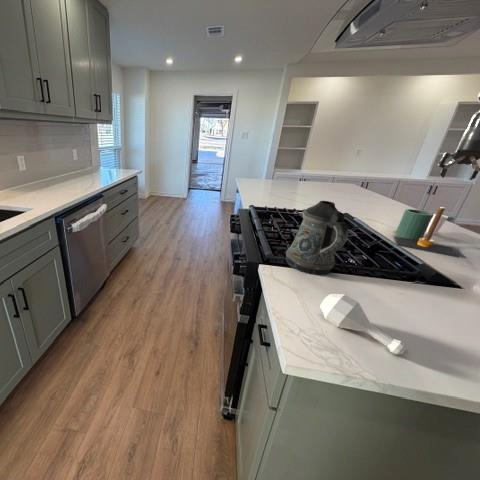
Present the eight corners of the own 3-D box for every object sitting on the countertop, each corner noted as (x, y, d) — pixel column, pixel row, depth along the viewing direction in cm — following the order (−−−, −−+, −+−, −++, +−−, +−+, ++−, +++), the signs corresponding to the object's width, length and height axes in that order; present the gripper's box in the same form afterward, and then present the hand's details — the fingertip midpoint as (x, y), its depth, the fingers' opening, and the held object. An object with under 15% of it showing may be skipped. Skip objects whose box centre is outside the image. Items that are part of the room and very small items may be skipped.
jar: (419, 236, 129) (430, 211, 124) (423, 242, 121) (435, 216, 116) (394, 231, 134) (404, 207, 129) (396, 237, 127) (407, 212, 122)
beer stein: (298, 251, 109) (314, 194, 99) (349, 271, 94) (373, 206, 84) (275, 261, 100) (290, 199, 90) (327, 284, 85) (351, 213, 76)
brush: (430, 244, 117) (448, 207, 110) (432, 248, 113) (451, 209, 106) (416, 242, 120) (433, 205, 112) (418, 245, 116) (436, 207, 109)
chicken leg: (390, 368, 56) (417, 340, 54) (312, 312, 67) (331, 287, 65) (391, 360, 62) (415, 334, 60) (319, 310, 73) (337, 287, 71)
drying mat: (450, 247, 116) (451, 246, 116) (458, 257, 107) (459, 256, 107) (394, 237, 126) (394, 236, 126) (397, 245, 117) (397, 244, 117)
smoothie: (419, 230, 137) (431, 205, 131) (433, 231, 136) (445, 206, 130) (428, 234, 131) (441, 208, 125) (443, 235, 130) (456, 209, 124)
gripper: (453, 138, 105) (435, 177, 111) (505, 139, 97) (483, 181, 104) (448, 138, 111) (431, 175, 117) (497, 139, 103) (476, 179, 110)
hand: (455, 178), depth 110 cm, fingers open, 8 cm apart
